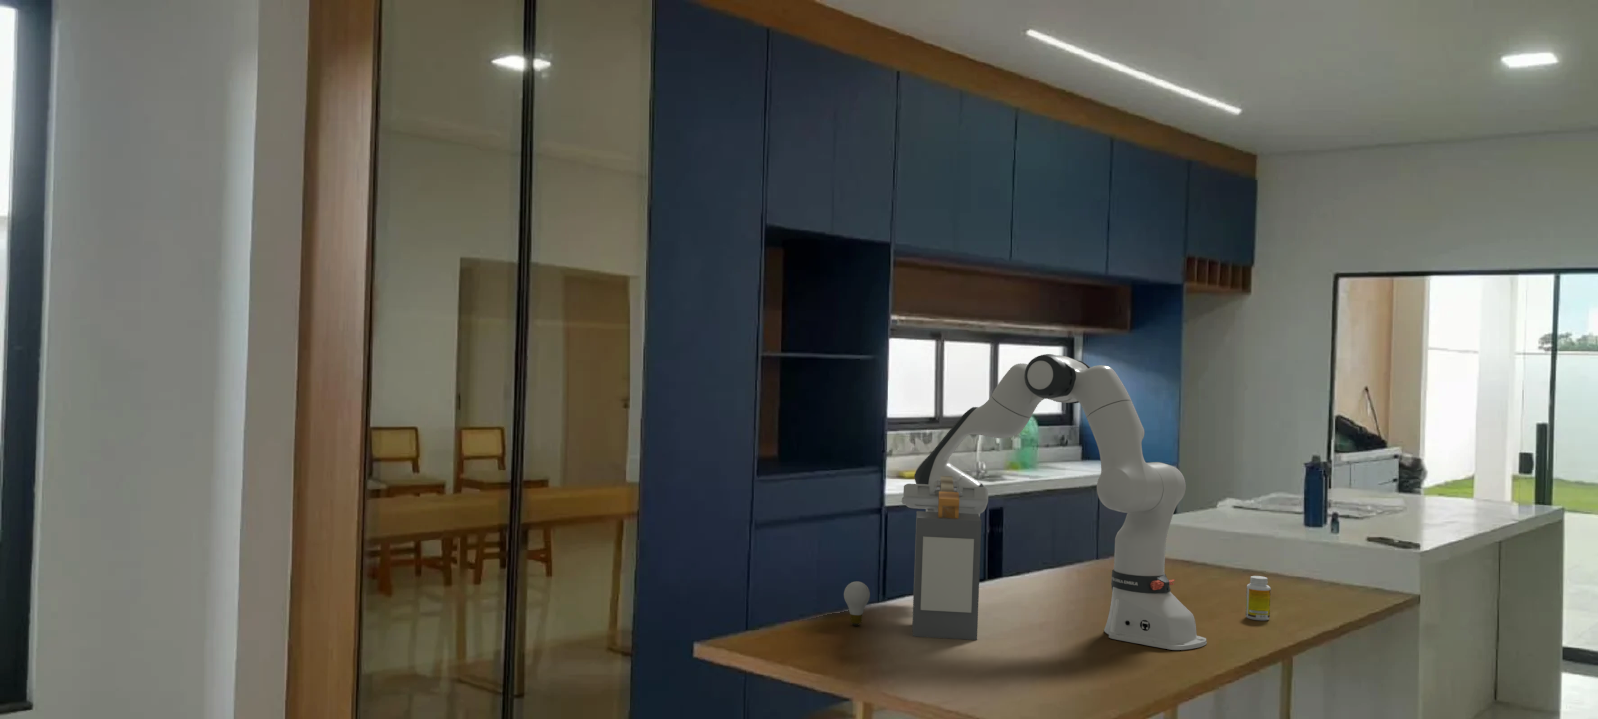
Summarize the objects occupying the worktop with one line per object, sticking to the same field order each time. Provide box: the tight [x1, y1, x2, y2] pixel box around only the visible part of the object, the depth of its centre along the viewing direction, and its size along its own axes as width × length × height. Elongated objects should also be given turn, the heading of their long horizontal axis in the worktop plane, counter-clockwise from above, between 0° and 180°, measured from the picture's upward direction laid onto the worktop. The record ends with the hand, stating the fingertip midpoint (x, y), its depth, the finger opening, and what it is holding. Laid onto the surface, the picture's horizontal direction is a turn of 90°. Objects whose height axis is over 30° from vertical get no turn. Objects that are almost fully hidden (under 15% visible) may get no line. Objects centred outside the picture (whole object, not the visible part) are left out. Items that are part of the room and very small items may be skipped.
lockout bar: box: [938, 476, 959, 519], centre depth 275 cm, size 22×4×4 cm, turn 175°
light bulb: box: [843, 580, 871, 627], centre depth 272 cm, size 6×6×10 cm
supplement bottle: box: [1245, 575, 1272, 622], centre depth 296 cm, size 6×6×10 cm
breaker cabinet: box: [911, 510, 982, 641], centre depth 268 cm, size 13×14×26 cm
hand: (946, 483), depth 282 cm, fingers closed on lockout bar, 3 cm apart
